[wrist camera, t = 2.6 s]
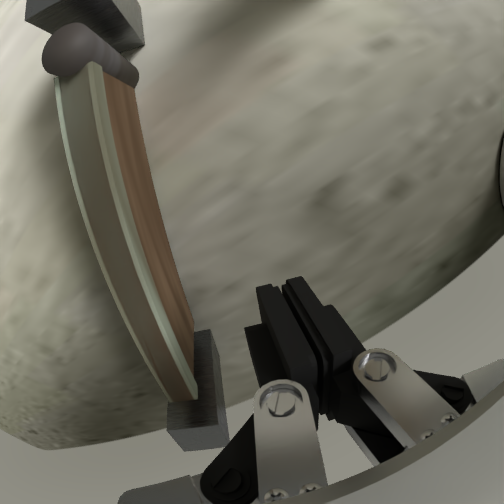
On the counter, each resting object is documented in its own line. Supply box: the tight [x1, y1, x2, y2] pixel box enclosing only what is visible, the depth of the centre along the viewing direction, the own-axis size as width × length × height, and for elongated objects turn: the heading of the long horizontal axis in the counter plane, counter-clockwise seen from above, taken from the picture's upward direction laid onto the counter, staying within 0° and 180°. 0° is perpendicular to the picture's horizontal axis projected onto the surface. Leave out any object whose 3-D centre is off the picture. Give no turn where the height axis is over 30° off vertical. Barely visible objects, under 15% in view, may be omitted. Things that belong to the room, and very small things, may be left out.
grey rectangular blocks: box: [25, 0, 230, 451], centre depth 13 cm, size 3×26×8 cm, turn 9°
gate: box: [42, 23, 198, 402], centre depth 12 cm, size 3×18×8 cm, turn 9°
